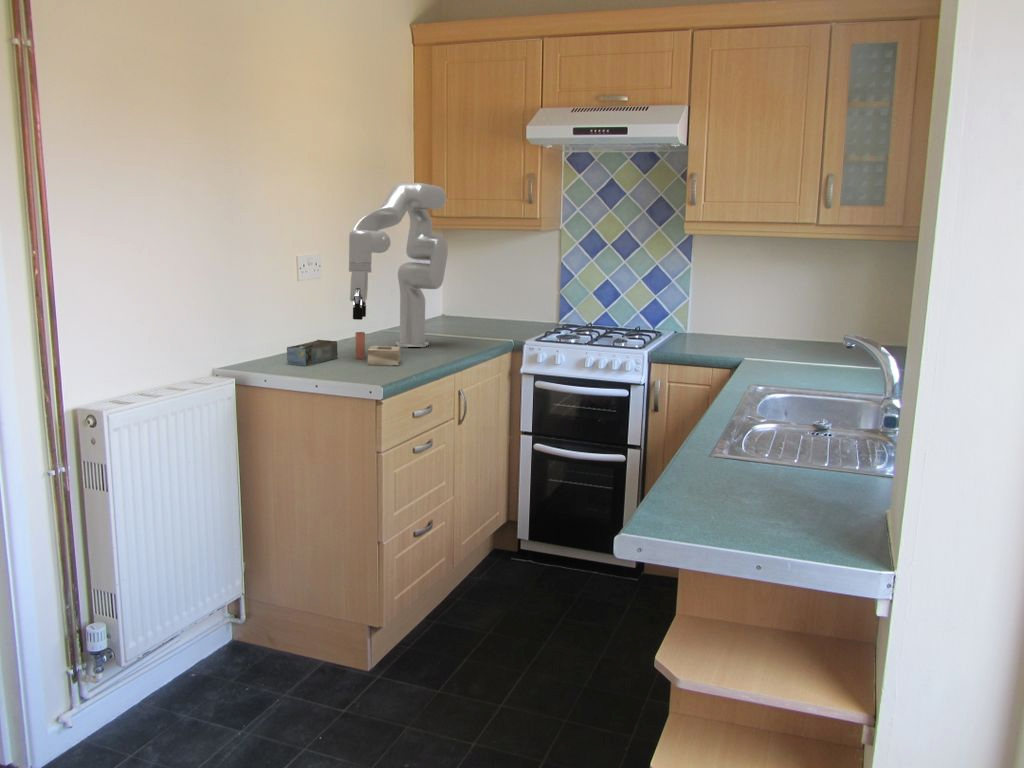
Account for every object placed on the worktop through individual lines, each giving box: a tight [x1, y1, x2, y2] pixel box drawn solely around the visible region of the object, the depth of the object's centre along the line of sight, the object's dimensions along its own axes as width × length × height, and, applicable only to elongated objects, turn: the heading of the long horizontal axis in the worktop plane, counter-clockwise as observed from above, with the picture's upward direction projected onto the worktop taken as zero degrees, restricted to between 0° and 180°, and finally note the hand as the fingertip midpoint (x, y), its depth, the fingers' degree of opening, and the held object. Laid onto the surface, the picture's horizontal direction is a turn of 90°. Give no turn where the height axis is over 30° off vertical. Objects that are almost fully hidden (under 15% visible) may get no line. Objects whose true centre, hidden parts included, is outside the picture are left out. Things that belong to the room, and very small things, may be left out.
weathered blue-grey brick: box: [286, 339, 339, 367], centre depth 288 cm, size 8×19×7 cm, turn 158°
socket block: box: [367, 345, 401, 366], centre depth 290 cm, size 10×10×5 cm
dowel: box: [355, 331, 366, 360], centre depth 296 cm, size 3×3×9 cm
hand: (359, 318), depth 294 cm, fingers open, 9 cm apart
